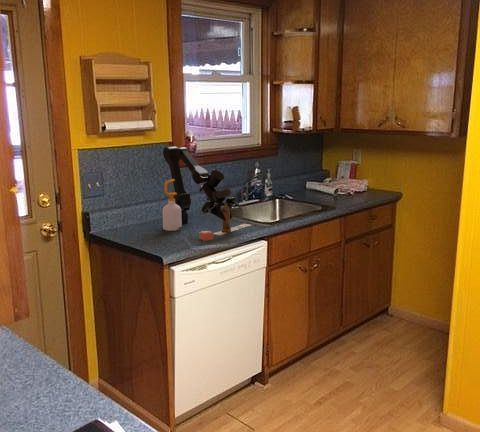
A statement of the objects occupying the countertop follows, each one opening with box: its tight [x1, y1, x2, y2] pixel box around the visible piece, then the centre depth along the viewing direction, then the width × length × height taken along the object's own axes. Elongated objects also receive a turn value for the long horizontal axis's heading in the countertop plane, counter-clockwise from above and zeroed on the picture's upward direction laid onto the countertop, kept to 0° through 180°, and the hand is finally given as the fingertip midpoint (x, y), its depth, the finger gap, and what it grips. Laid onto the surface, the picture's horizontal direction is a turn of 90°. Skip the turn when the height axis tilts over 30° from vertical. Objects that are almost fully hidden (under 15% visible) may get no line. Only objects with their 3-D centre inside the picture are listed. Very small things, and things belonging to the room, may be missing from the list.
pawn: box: [221, 205, 232, 233], centre depth 246 cm, size 4×4×12 cm
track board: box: [213, 223, 251, 236], centre depth 251 cm, size 26×11×1 cm, turn 143°
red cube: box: [198, 230, 214, 242], centre depth 233 cm, size 4×4×4 cm
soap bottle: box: [162, 178, 183, 232], centre depth 254 cm, size 9×9×25 cm
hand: (228, 219), depth 245 cm, fingers open, 4 cm apart
